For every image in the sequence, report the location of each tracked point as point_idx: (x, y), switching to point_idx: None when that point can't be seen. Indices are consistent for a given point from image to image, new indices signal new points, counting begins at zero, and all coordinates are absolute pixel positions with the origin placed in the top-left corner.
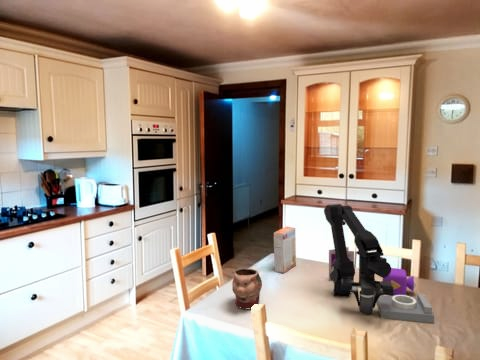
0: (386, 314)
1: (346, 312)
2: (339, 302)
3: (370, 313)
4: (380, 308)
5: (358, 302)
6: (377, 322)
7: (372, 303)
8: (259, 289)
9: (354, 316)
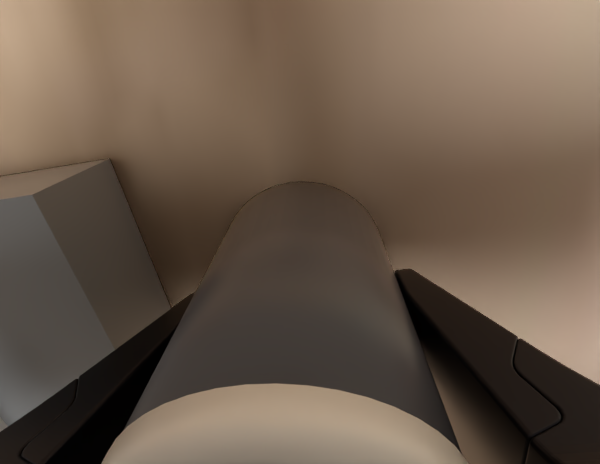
0: (3, 185)
1: (557, 163)
2: (593, 370)
3: (242, 210)
4: (87, 278)
5: (437, 301)
6: (114, 2)
7: (180, 321)
8: None
9: (453, 76)
